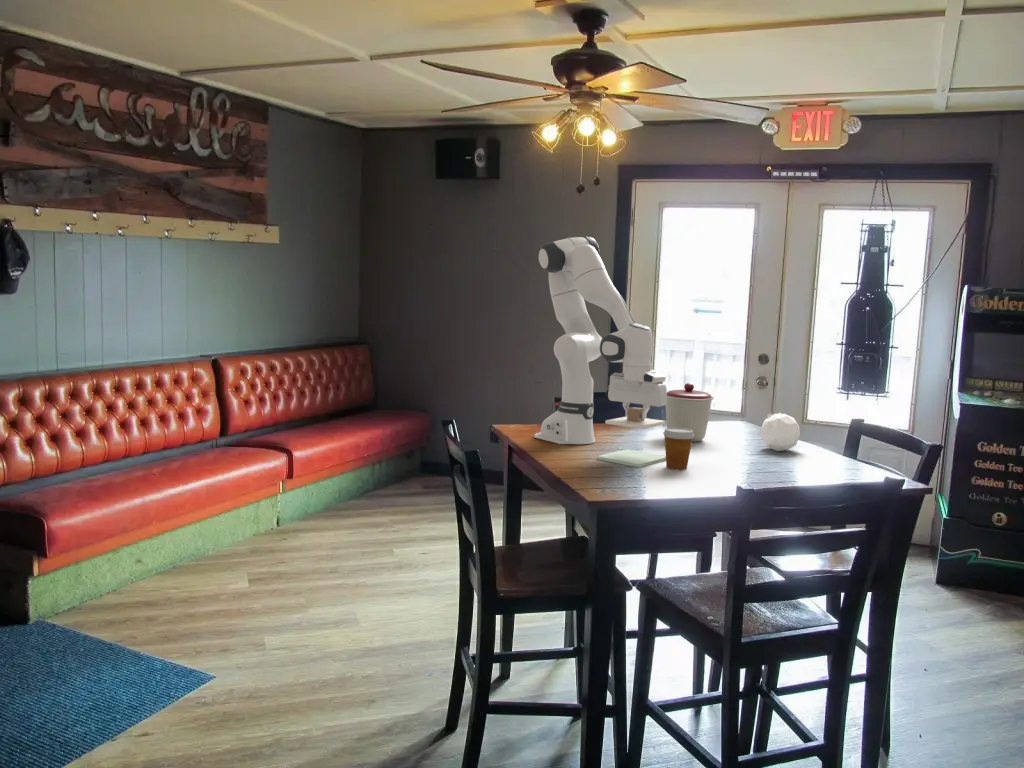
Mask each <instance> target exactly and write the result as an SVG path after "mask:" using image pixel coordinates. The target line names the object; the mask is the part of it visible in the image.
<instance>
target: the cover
mask: <svg viewBox="0 0 1024 768" xmlns="http://www.w3.org/2000/svg"><path fill="white" fill-rule="evenodd" d="M644 409H645V408H643V407H635V406H634V407H629V408H628V410H627V416H621V417H616V418H612V419H606V420H605V424H607V425H614V426H621V427H627V428H635V429H642V430H643V429H645V430H646V429H649V428H653V427H659V426H662V425H663V426H664V425H667V423H666V420H663V419H662V420H661V419H654V418H653V419H652V418H648V417H646V419H642V418H640V413H642V412H643V410H644Z"/></svg>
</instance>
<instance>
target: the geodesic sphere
mask: <svg viewBox="0 0 1024 768" xmlns="http://www.w3.org/2000/svg"><path fill="white" fill-rule="evenodd" d="M766 417H767V418H765V419H764V420H763V422H762V426H761V427H760V436H761V440H762V441H763V442H764V444H765V446H766V447H767V448H769V449H771V450H773V451H776V452H781V451H782V452H784V450H785V451H789V450H790V449H792V448H794V447H795V446H796V445H797V444H798V441H799V440H800V439H799V438H800V436H801V431H800V425H799V424H798V423H797V421H796V419H795V418H794V417H793V416H790V415H788V413H787V414H786V413H784V412H782V411H779V412H778V413H767V415H766Z"/></svg>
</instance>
